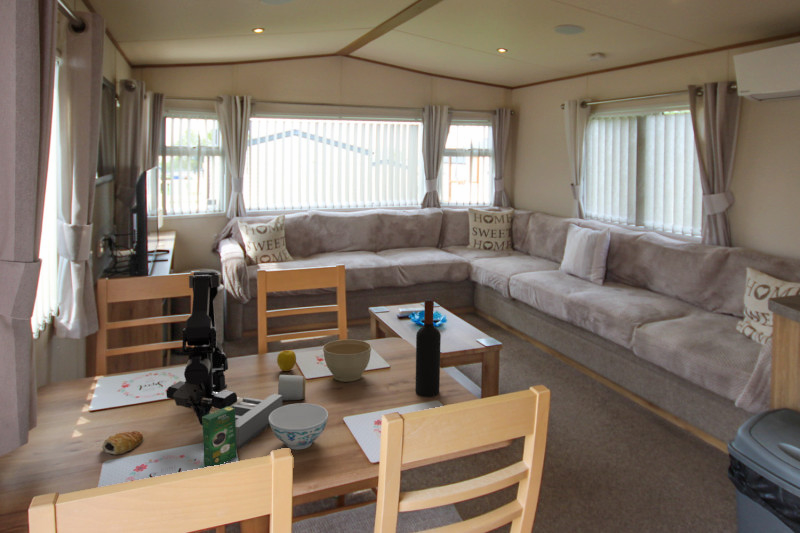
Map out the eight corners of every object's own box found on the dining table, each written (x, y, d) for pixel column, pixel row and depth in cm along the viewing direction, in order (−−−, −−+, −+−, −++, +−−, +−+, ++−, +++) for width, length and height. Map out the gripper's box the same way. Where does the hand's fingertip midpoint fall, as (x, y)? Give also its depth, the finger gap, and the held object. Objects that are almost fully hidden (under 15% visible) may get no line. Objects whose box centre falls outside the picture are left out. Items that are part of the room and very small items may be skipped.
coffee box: (230, 453, 142) (227, 404, 139) (238, 457, 140) (235, 407, 138) (203, 468, 135) (200, 416, 132) (211, 471, 133) (208, 419, 131)
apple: (274, 373, 195) (274, 351, 193) (281, 366, 201) (281, 345, 199) (292, 374, 194) (292, 352, 192) (299, 368, 200) (298, 346, 198)
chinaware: (269, 432, 153) (268, 405, 151) (325, 427, 156) (325, 400, 155) (269, 461, 138) (268, 431, 137) (331, 454, 142) (331, 425, 140)
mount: (203, 441, 147) (202, 420, 146) (249, 409, 167) (248, 389, 166) (239, 449, 144) (238, 427, 143) (282, 414, 163) (282, 395, 162)
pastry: (132, 436, 150) (131, 422, 150) (150, 442, 147) (149, 428, 147) (100, 451, 142) (98, 437, 142) (118, 458, 139) (116, 444, 139)
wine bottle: (411, 394, 178) (413, 301, 173) (420, 386, 185) (421, 296, 180) (434, 398, 175) (436, 304, 170) (442, 389, 182) (444, 298, 177)
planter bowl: (376, 370, 198) (376, 341, 196) (363, 388, 183) (363, 356, 181) (333, 366, 202) (332, 337, 200) (316, 383, 186) (315, 352, 184)
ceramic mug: (305, 403, 171) (305, 378, 170) (278, 404, 170) (277, 380, 169) (305, 389, 182) (305, 366, 180) (279, 391, 180) (279, 368, 179)
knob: (228, 418, 160) (227, 401, 159) (239, 410, 165) (238, 394, 164) (255, 423, 157) (255, 405, 156) (266, 415, 162) (265, 398, 161)
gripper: (149, 374, 145) (152, 431, 148) (210, 386, 139) (212, 445, 142) (180, 360, 156) (182, 413, 159) (237, 371, 150) (238, 426, 153)
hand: (202, 424), depth 153 cm, fingers closed
